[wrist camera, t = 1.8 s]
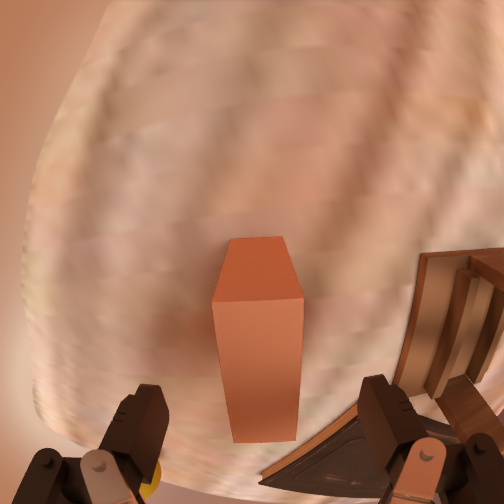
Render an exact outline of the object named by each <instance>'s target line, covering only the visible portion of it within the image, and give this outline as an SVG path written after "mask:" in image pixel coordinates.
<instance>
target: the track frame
mask: <svg viewBox="0 0 504 504" xmlns="http://www.w3.org/2000/svg"><path fill="white" fill-rule="evenodd" d="M503 331H504V248H491V249H477V250H463V251H449V252H434V253H421V256H420V264H419V271H418V278H417V284H416V290H415V296H414V301H413V306H412V311H411V316H410V321H409V325H408V329H407V334H406V338H405V342H404V346H403V350H402V353H401V357H400V361H399V364H398V367H397V371H396V374H395V377H394V381H393V384H396V385H397V386H399V387H400V388H401V389H402V390H404V392H405V393H406V395H407V397H408V398H409V397H412V396H416V395H420V394H423V393H428V395H429V396H430V398H431V400H432V399H435V401H436V402H437V404H438V406H439V407H440V409H441V411H442V412H443V414H444V416H445V417H446V419H447V421H448V422H449V424H450V426H451V427H452V429H453V431H454V433H455V434H456V436H457V438H458V440H459V441H460V443H465V442H466V441H467V440H468V438H469V437H470V436H471V435H473V434H476V433H485V434H488V435H489V436H491V437H492V438H493V440H494V441H495V443H496V445H497V447H498V449H499V450H500V452H501V454H502V455H503V454H504V426H503V425H502V423H501V422H500V421H499V419H498V418H497V416H496V415H495V414H494V412H493V411H492V409H491V408H490V407H489V405H488V404H487V402H486V401H485V400H484V398H483V397H482V396H481V394H480V393H479V392H478V390H477V389H476V388H475V387H474V385H473V384H477V383H479V382H481V380H482V378H483V376H484V374H485V372H486V371H487V370H488V368H489V365H490V363H491V361H492V359H493V356H494V354H495V351H496V349H497V346H498V344H499V341H500V339H501V336H502V333H503ZM469 379H470V380H471V381H470V380H469ZM471 382H472V383H473V384H472V383H471Z"/></svg>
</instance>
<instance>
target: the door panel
mask: <svg viewBox="0 0 504 504" xmlns="http://www.w3.org/2000/svg"><path fill="white" fill-rule="evenodd" d="M211 303H212V311H213V319H214V326H215V333H216V340H217V347H218V354H219V361H220V367H221V373H222V380H223V386H224V392H225V398H226V403H227V409H228V415H229V420H230V426H231V431H232V436H233V441H234V443H263V442H283V441H296V432H297V421H298V409H299V396H300V381H301V364H302V344H303V318H304V297H303V294H302V291H301V288H300V285H299V282H298V279H297V276H296V273H295V270H294V267H293V265H292V262H291V259H290V256H289V253H288V250H287V248H286V245H285V242H284V239H283V237H261V238H241V239H231V241H230V244H229V247H228V250H227V253H226V257H225V260H224V263H223V266H222V269H221V273H220V276H219V279H218V282H217V286H216V289H215V292H214V295H213V299H212V302H211Z"/></svg>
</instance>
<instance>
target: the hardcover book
mask: <svg viewBox="0 0 504 504" xmlns="http://www.w3.org/2000/svg"><path fill="white" fill-rule="evenodd" d="M357 403H358V402H357ZM357 403H356V404H355V405H354V406H353V407H352V408H350V409H349V410H348V411H347V412H346V413H344V414H343V415H342V416H341V417H340V418H338V419H337V420H336V421H335V422H333V423H332V424H331V425H330V426H328V427H327V428H326V429H325V430H323V431H322V432H321V433H319V434H318V435H317V436H315V437H314V438H313V439H311V440H310V441H308V442H307V443H306V444H304V445H303V446H301V447H300V448H299V449H297V450H296V451H294V452H293V453H291V454H290V455H288V456H287V457H285V458H284V459H282V460H281V461H279V462H277V463H276V464H274V465H273V466H271V467H269V468H268V469H266V470H264V471H263V473H262V474H263V479H262V480H261V481H259V482H258V484H260V485H264V486H269V487H273V488H278V489H283V490H289V491H295V492H301V493H308V494H316V495H324V496H335V497H349V498H381V497H382V495H383V493H384V491H385V489H386V487H387V485H388V483H389V481H390V479H389V476H388V475H386V476H382V477H379V476H378V473H377V470H376V466H375V463H374V460H373V457H372V454H371V451H370V448H369V446H368V443H367V440H366V437H365V434H364V431H363V428H362V425H361V423H360V420H359V417H358V413H357ZM417 415H418V414H417ZM418 417H419V418H420V420H421V422H422V424H423V426H424V428H425V430H426V432H427V433H428V435H429V437H430V438H435V439H438V440H439V441H441V442H442V443H443V444H444V445H451V444H460V441H459V440H458V438H457V436H456V434H455V433H454V431H453V429H452V427H451V426H450V425H447V424H444V423H441V422H438V421H435V420H432V419H429V418H426V417H424V416H421V415H418Z"/></svg>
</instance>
